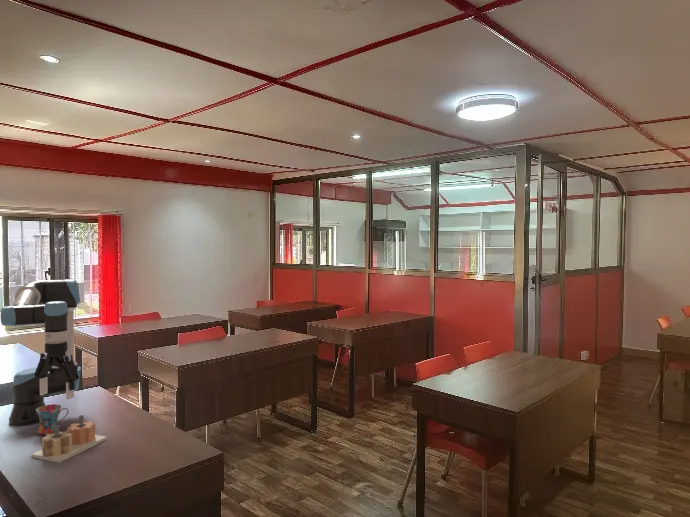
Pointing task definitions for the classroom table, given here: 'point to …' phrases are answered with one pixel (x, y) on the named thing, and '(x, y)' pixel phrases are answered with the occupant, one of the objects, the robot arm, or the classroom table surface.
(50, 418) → the mug
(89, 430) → the gear board
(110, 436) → the classroom table surface
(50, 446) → the gear
